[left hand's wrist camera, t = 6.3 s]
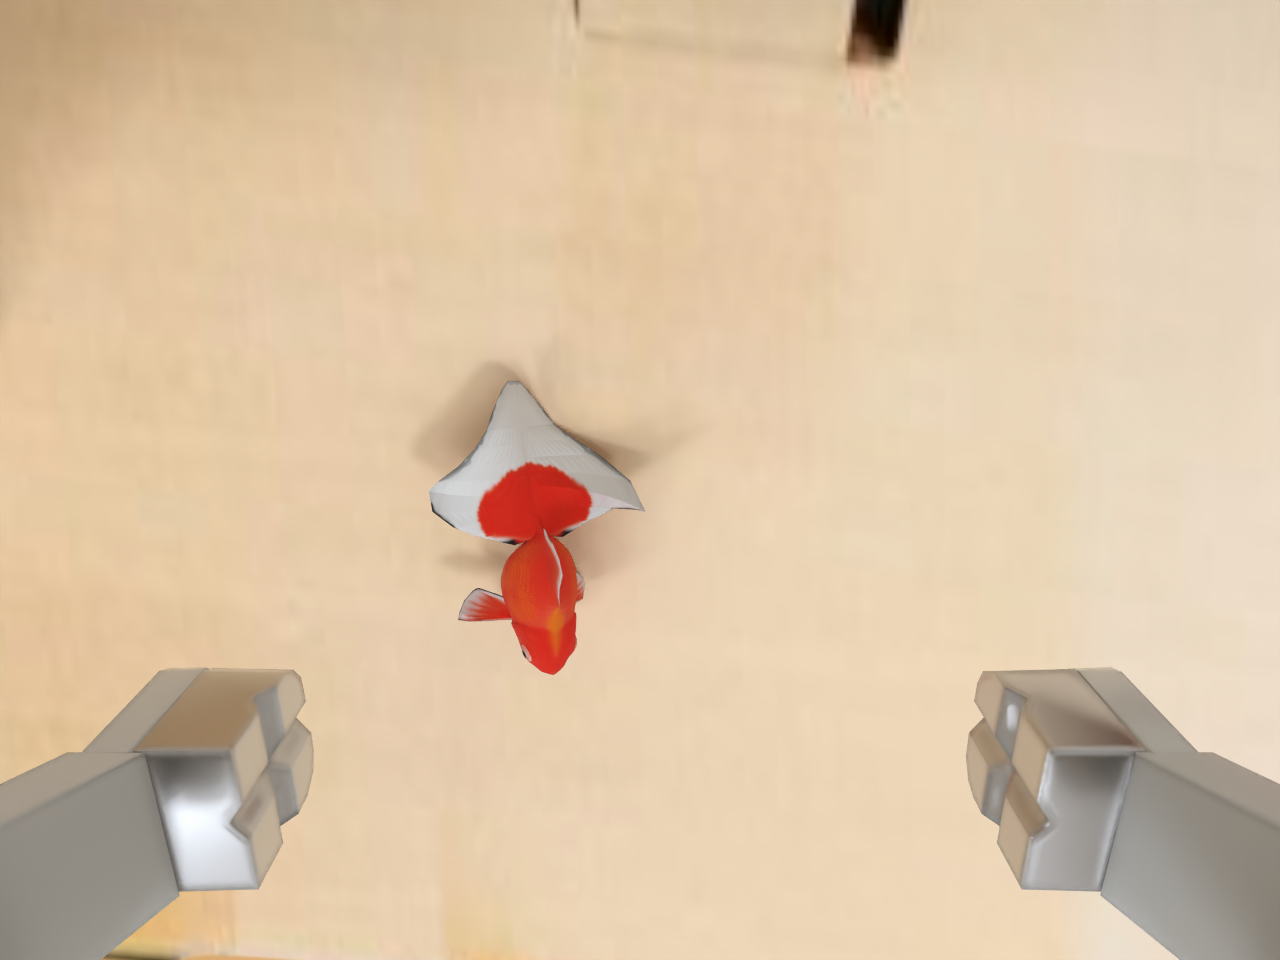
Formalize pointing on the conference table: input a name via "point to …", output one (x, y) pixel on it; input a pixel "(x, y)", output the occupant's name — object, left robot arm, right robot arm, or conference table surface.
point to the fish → (530, 519)
